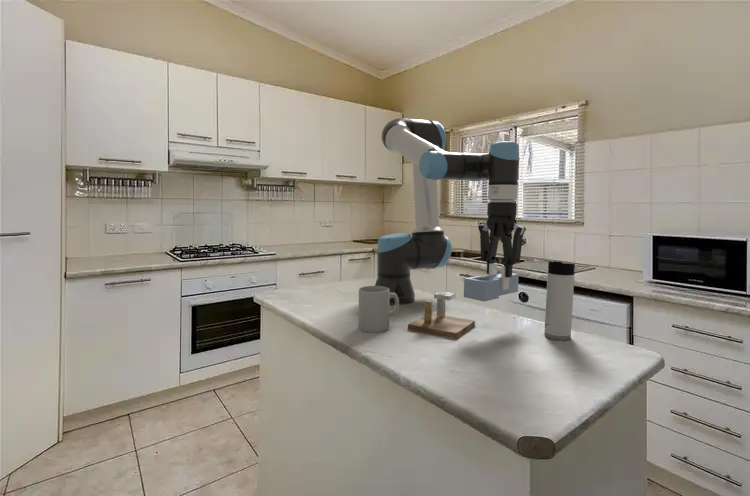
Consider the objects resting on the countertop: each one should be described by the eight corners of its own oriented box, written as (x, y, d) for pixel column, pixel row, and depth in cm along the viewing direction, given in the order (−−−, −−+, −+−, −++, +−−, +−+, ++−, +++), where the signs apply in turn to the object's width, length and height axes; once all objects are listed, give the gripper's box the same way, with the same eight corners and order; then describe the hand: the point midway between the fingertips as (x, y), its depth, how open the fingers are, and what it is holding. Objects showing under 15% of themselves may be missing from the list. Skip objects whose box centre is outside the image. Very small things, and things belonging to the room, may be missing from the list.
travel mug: (540, 337, 106) (544, 260, 104) (549, 331, 111) (553, 258, 109) (565, 342, 102) (570, 263, 100) (574, 336, 107) (578, 260, 105)
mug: (366, 334, 107) (367, 293, 106) (353, 325, 115) (353, 287, 114) (406, 328, 113) (406, 289, 112) (390, 320, 120) (391, 283, 119)
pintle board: (429, 318, 123) (430, 293, 122) (474, 325, 116) (475, 299, 115) (407, 329, 112) (408, 302, 111) (456, 338, 104) (457, 310, 104)
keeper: (439, 315, 120) (439, 291, 119) (455, 318, 117) (456, 293, 117) (432, 319, 116) (432, 293, 115) (448, 322, 114) (449, 296, 113)
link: (484, 301, 103) (485, 281, 103) (463, 297, 108) (464, 278, 107) (523, 292, 115) (523, 274, 114) (502, 288, 120) (503, 271, 119)
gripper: (468, 201, 114) (465, 284, 116) (522, 201, 101) (517, 295, 104) (485, 201, 118) (482, 281, 121) (538, 201, 106) (533, 291, 108)
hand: (498, 287), depth 112 cm, fingers closed on link, 3 cm apart
